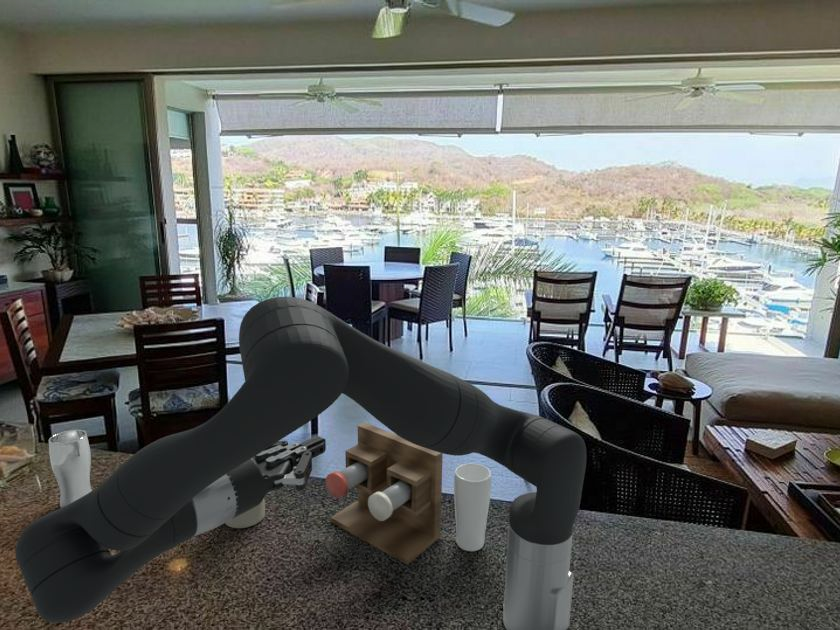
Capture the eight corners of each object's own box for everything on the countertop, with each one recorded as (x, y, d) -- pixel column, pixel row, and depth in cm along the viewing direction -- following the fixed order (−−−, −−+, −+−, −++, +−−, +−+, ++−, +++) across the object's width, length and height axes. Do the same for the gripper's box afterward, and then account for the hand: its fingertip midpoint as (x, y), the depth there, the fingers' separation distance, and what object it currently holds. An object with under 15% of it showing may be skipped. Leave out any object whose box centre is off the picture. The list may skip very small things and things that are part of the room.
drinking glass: (486, 558, 96) (490, 483, 93) (449, 552, 98) (452, 479, 94) (489, 535, 103) (492, 465, 99) (454, 530, 104) (457, 461, 101)
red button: (379, 480, 106) (379, 458, 105) (343, 502, 98) (343, 478, 97) (362, 472, 109) (362, 450, 107) (325, 493, 101) (325, 470, 100)
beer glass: (60, 497, 113) (50, 432, 110) (98, 490, 116) (89, 426, 113) (54, 514, 107) (43, 446, 104) (94, 506, 110) (85, 440, 107)
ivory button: (423, 499, 99) (423, 476, 98) (388, 525, 91) (388, 500, 90) (403, 490, 102) (404, 468, 101) (367, 514, 94) (367, 490, 93)
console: (440, 537, 102) (442, 451, 98) (407, 564, 94) (408, 473, 90) (365, 499, 114) (364, 422, 110) (330, 521, 106) (328, 439, 102)
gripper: (246, 483, 61) (353, 432, 74) (186, 449, 69) (292, 408, 82) (250, 540, 63) (354, 480, 76) (191, 500, 71) (294, 452, 84)
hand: (322, 443), depth 79 cm, fingers closed
